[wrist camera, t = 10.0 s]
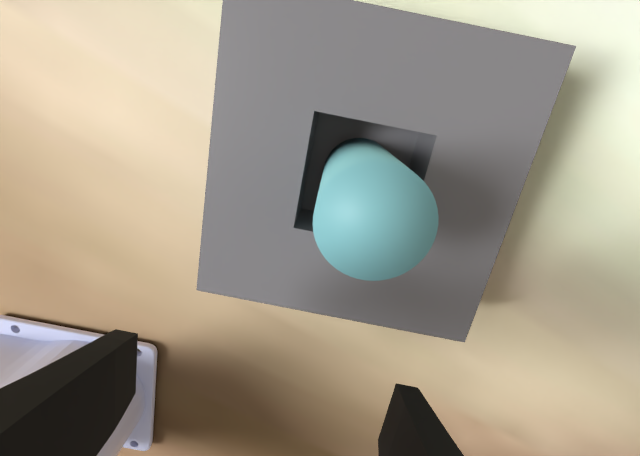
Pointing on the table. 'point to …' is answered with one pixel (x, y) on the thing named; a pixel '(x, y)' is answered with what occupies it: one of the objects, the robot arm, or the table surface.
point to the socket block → (375, 124)
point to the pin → (372, 212)
